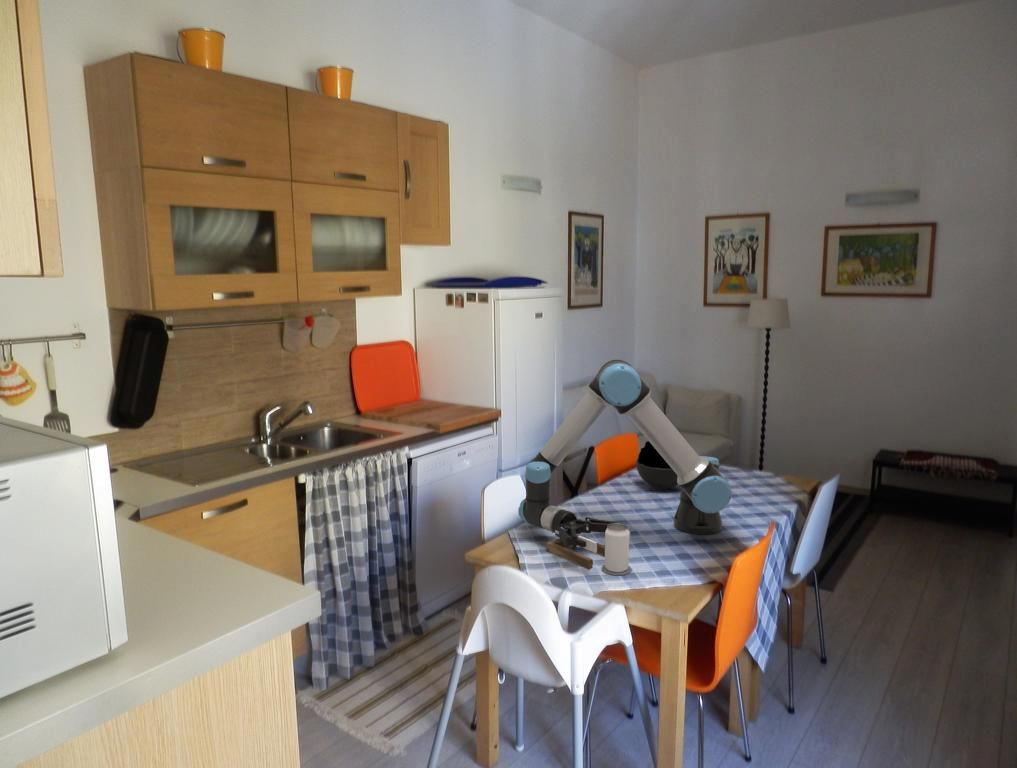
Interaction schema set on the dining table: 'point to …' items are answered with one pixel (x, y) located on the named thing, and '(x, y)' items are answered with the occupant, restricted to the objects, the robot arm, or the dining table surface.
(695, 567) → the dining table surface
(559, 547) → the u-shaped wooden frame
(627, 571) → the felt pad
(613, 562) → the can
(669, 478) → the coal bowl
